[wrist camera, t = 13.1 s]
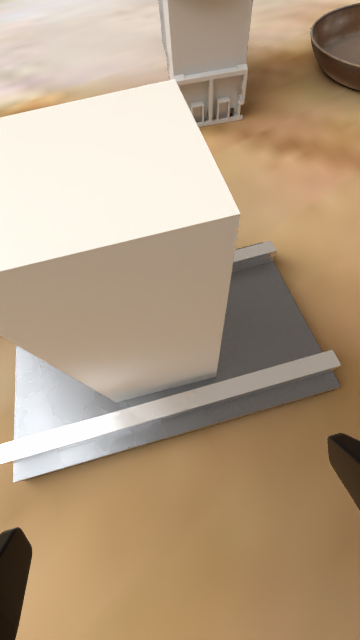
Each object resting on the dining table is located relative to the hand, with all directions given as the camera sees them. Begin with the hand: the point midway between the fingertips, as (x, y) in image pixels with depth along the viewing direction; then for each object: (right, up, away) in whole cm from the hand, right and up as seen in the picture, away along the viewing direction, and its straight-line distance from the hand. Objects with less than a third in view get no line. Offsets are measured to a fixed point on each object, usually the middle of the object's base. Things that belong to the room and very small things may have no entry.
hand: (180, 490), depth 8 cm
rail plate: (-1, +3, +12) cm, 12 cm away
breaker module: (-2, +3, +11) cm, 11 cm away
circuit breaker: (+3, +34, +27) cm, 43 cm away
